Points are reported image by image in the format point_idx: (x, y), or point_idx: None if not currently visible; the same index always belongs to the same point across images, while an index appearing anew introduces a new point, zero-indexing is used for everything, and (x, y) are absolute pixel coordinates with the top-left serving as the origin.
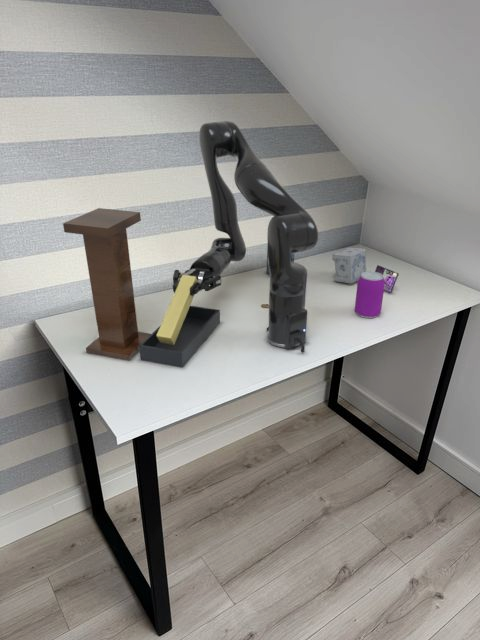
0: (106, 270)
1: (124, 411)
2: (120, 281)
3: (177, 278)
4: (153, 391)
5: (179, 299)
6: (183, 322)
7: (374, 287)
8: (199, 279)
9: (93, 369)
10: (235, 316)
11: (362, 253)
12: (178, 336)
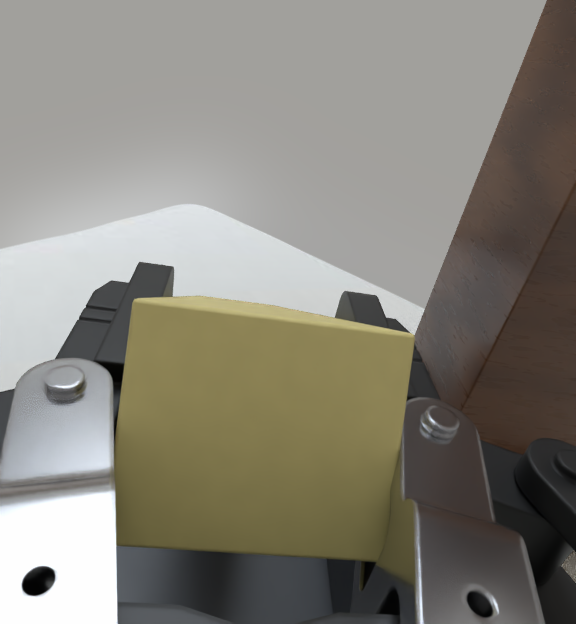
0: None
1: (221, 233)
2: (538, 78)
3: (526, 486)
4: (186, 272)
5: (245, 304)
6: None
7: None
8: (77, 468)
9: (408, 328)
10: None
11: None
12: (242, 567)
